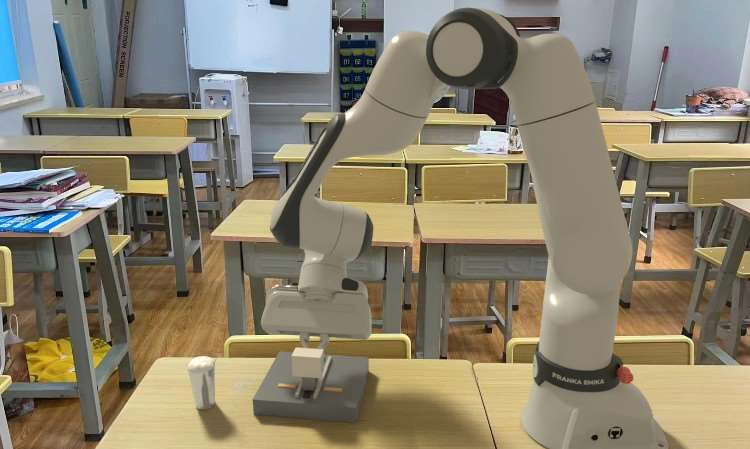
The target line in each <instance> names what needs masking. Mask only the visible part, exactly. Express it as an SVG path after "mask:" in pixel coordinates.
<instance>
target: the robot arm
mask: <svg viewBox="0 0 750 449" xmlns="http://www.w3.org/2000/svg"><path fill="white" fill-rule="evenodd" d="M365 85H366V86H365V88H364V90H363V93H362V95H361V96H360V98H359V99H358V100H357V102H356V103H354V105H353V106H352V107H350V108H349V109H348V110H347V111H345V112H343V113H338V114H335V115H334V116H333V117H332V118H331V119H330V120H329V122H327V124H326V125H325V126H324V128H323V130H322V131H321V133H320V134H319V136H317V137H318V138H317V139H316V141H315V142H314V144H313V145H312V147H311V148H310V151H309V153H308V154H307V155H306V157H305V159H304V160H303V163H302V164H301V165H300V167H299V169H298V171H297V173H296V174H295V176H294V178H293V180H292V181H291V183H290V184H289V186H288V187H287V188H286V190H285V191H284V192H283V194H282V195H281V197H280V199H278V201H277V203H276V204H275V206H274V208H273V210H272V213H271V217H270V221H269V222H270V223H269V230H270V233H272V237H274V239H275V240H276V242H277V243H278V244H280V245H281V247H284V248H290V249H296V250H300V249H301V250H303V251H304V260H303V263H302V265H301V268H300V273H299V280H298V285H283V284H276V285H275V286H272V287H270V288H269V289H268V290H267V292H266V296H265V306H264V310H263V312H262V316H261V320H260V326H261V328H262V329H263V331H264V332H265V333H266V334H269V335H270V334H271V335H285V336H286V335H287V336H297V337H298V336H299V341H300V343H301V345H302V348H309V347H308V344H307V343H308V342H310V339H311V337H313V338H314V337H316V338H319V340H320V343H319V345H318V346H317V347H316V349H324V350H326V348H327V346H328V345H329V344H330V339H348V340H362V341H366V340H368V339H369V338H370V337H371V335H372V328H373V327H372V326H373V325H372V311H371V307H370V303H369V300H368V298H369V290H368V287H367V286H366V284H365V283H364V281H361V280H358V279H356V278H354V277H351V276H347V275H348V274H347V265H348V263H353V262H356V261H357V260H359V259H360V258H362V257H364V256H365V255H367V254H368V253H369V251H370V250H371V247H372V243H373V237H374V224H373V221H372V219H371V217H370V215H369V214H368V213H367V211H365V210H362V209H360V208H358V207H353V206H351V205H346V204H343V203H337V202H335V201H334V202H333V201H330V200H327V199H323V198H319V197H316V196H315V195H316V194H317V192H318V190H319V188H320V187H321V185H322V184H323V182H324V181H325V179H326V177H327V176H328V174H329V172H330V171H331V169H332V168H333V167H334V166H335V165H336V164H337V163H339V162H341V161H344V160H346V159H350V158H355V157H356V158H357V157H367V156H385V155H392V154H395V153H398V152H401V151H403V150H405V149H406V148H408V147H410V146H411V145H412V144H413V143H414V142H415V141H416V139H417V138H418V136H419V135H420V133H421V131H422V129H423V127H424V126H425V124H426V122H427V119H428V117H429V115H430V113H431V111H432V110H431V109H432V108H433V105H434V103H435V101H436V100H437V97H438V95H439V94H440V92H441V91H442V90H443V89H444V88H445V87H446V86H449V87H451V88H454V89H457V90H458V89H459V90H488V89H489V90H492V89H493V90H496V89H502V91H503V92H504V93H505V94H506V95H507V98H508V100H509V101H510V106H511V108H512V111H513V115H514V118H515V123H516V125H517V126H516V127H517V129H518V132H519V137H520V141H521V144H522V147H523V150H524V155H525V157H526V161H527V166H528V169H529V172H530V176H531V181H532V186H533V190H534V196H535V200H536V201H535V202H536V206H537V210H538V211H537V212H538V216H539V220H540V225H541V229H542V233H543V238H544V243H545V246H546V250H547V255H548V259H547V267H546V268H547V270H546V276H545V277H546V278H545V286H544V292H543V294H544V295H543V303H542V312H541V320H540V321H541V322H540V330H539V331H540V332H539V339H538V342H537V343H536V345H535V351H534V355H533V363H532V376H533V377H532V378H533V380H532V384H531V385H532V386H531V389H530V392H529V396H528V399H527V401H526V404H525V406H524V408H523V409H522V412H521V415H520V420H521V425H522V427H523V429H524V430H525V432H526V433H527V434H528V435H529V436H530V438H532V439H533V440H534V441H535V442H537V443H538V444H540V445H542V446H544V447H545V448H547V449H669V444H668V440H667V437H666V435H665V433H664V431H663V429H662V427H661V426H660V424H659V422H658V421H657V420H656V419H655V418H654V413H653V410H652V407H651V405H650V403H649V401H648V399H647V398H646V396H645V395H644V394H643V392H642V391H641V390H640V388H639V387H637V386H636V385H635V384H634V383H632V382H633V381H634V379H635V378H634V375H633V373H632V371H631V370H630V368H628V367H627V366H624V362H623V360H622V358H621V357H620V356H618V355H617V353H616V352H615V350H614V343H615V339H616V331H617V325H618V317H619V307H620V306H619V304H620V289H621V283H622V281H623V280H624V279H625V277H626V274H627V273H628V271H629V269H630V266H631V262H632V260H633V254H634V252H633V243H632V240H631V236H630V231H629V227H628V224H627V219H626V215H625V211H624V209H623V205H622V200H621V195H620V192H619V189H618V188H619V187H618V185H617V181H616V178H615V177H616V176H615V173H614V170H613V165H612V162H611V158H610V153H609V150H608V146H607V141H606V137H605V133H604V129H603V126H602V122H601V118H600V113H599V110H598V105H597V103H596V98H595V95H594V92H593V87H592V85H591V82H590V79H589V76H588V74H587V70H586V69H585V66H584V63H583V61H582V59H581V57H580V55H579V53H578V51H577V49H576V47H575V45H574V43H573V42H572V40H570V39H569V38H568V37H567V36H565V35H562V34H558V33H543V34H538V35H535V36H532V37H525V38H523V37H521V34H520V32H519V29H518V27H517V26H516V25H515V23H514V22H512V21H511V19H510V18H508V17H506V16H504V15H503V14H499V13H497V12H495V11H494V10H491V9H489V8H484V7H461V8H457V9H454V10H451V11H450V12H447V13H446V14H444V15H443V16H442V17H440V19H438V20H437V22H436V23H435V24H434V25H433V26H432V28H431V30H430V32H429V34H427V33H425V32H421V31H417V30H405V31H401V32H398V33H397V34H395V35H393V37H392V38H390V40H389V42H388V44H387V45H386V47H385V49H384V50H383V51H382V53H381V55H380V57H379V58H378V60H377V62H376V64H375V66H374V67H373V70H372V72H371V74H370V76H369V78H368V81H367V83H366V84H365Z"/></svg>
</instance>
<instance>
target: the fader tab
mask: <svg viewBox="0 0 750 449" xmlns="http://www.w3.org/2000/svg"><path fill="white" fill-rule="evenodd" d="M324 354H325V349H317V348H310V347H308V348H303V347H295V348H294V350H293V354H292V376H296V377H302V390H311V391H314V388H315V386H316V381H315V378H321V376H322V374H323V371H324Z"/></svg>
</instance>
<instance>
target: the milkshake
mask: <svg viewBox="0 0 750 449" xmlns="http://www.w3.org/2000/svg"><path fill="white" fill-rule="evenodd" d="M217 358H218V356H216V358H215V360H214V359H213V358H212V357H210V356H197V357H196V356H195V357H194V358H193V359H191V360H190V361H189V363H188V364H187V371H188V376H189V379H190V385H191V389H192V394H193V399H194V404H195V408H196V409H198V410H202V411H206V410H209V409H210V410H211V409H212V407H214V406H215V403H216V390H215V389H216V382H215V378H216V377H215V375H216V374H215V373H216V361H217Z"/></svg>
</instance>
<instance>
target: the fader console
mask: <svg viewBox="0 0 750 449" xmlns="http://www.w3.org/2000/svg"><path fill="white" fill-rule="evenodd" d="M293 352H294V351H293ZM293 352H292V351H278V353H277V355H276V357H275V358H274V360H273V362H272V363H271V366H270V367H269V369H268V371H267V373H266V374H265V376H264V378H263V380H262V382H261V384H260V385H259V387H258V389H257V391H256V393H255V394H254V396H253V398H252V409H253V410H252V411H253V415H257V416H258V415H259V416H270V417H271V416H272V417H280V418H281V417H284V418H295V419H307V420H320V421H321V420H322V421H330V422H331V421H332V422H343V423H355V424H356V423H357V420H358V417H359V412H360V407H361V405H362V400H363V396H364V393H365V388H366V384H367V379H368V376H369V370H370V369H369V368H370V367H369V366H370V364H369V363H370V362H369V357H368V356H367V357H365V356H351V355H341V354H340V355H337V354H335V355H334V354H325V353H324V371H323V374H322V376H321V378H315V381H316V386H315V388H314V391H311V390H302V377H296V376H292V354H293Z"/></svg>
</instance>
